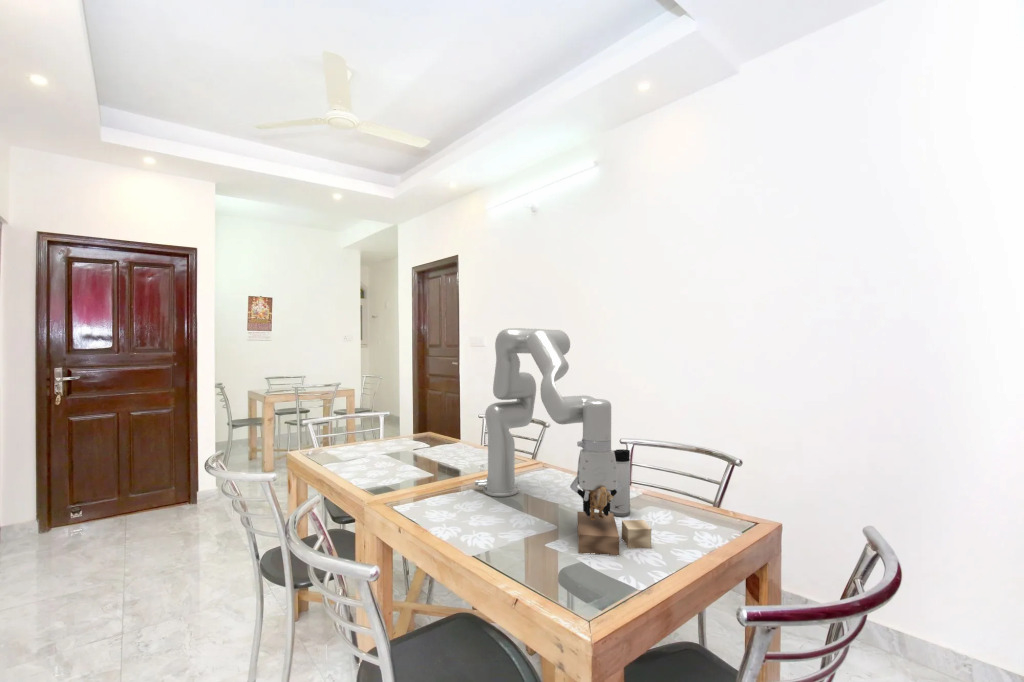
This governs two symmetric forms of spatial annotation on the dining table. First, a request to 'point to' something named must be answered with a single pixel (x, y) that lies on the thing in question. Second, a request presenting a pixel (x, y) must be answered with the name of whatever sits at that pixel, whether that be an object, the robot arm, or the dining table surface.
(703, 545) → the dining table surface
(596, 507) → the lion figurine
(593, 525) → the walnut block
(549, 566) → the dining table surface
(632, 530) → the oak block
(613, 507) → the travel mug
